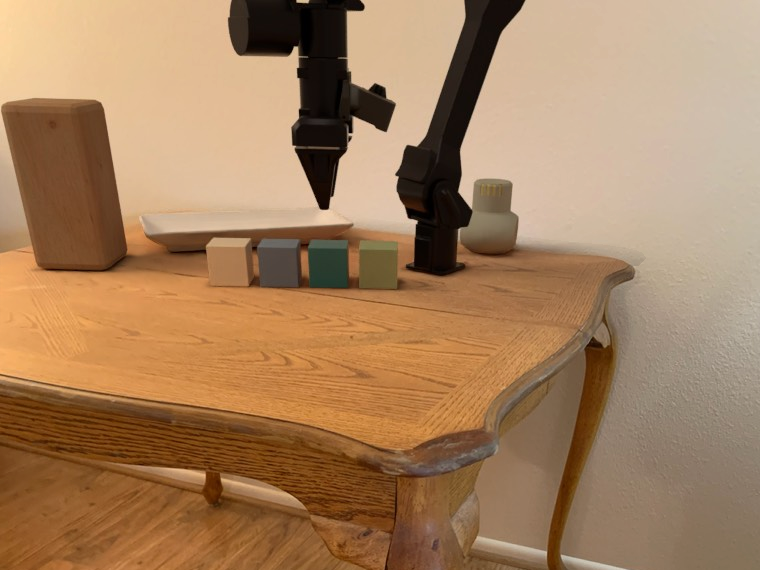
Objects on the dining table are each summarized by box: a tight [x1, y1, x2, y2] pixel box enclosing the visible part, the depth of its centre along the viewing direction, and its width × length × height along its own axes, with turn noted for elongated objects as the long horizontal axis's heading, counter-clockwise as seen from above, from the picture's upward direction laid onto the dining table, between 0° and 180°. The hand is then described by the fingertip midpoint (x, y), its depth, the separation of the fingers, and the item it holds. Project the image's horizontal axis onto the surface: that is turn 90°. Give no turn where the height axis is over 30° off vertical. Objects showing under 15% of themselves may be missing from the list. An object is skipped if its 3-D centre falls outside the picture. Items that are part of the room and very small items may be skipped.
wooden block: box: [0, 97, 128, 271], centre depth 103 cm, size 10×10×20 cm
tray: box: [138, 206, 355, 253], centre depth 122 cm, size 17×31×4 cm, turn 110°
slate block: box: [256, 239, 303, 288], centre depth 101 cm, size 5×5×5 cm
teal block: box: [307, 239, 350, 289], centre depth 101 cm, size 5×5×5 cm
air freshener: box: [459, 178, 519, 255], centre depth 118 cm, size 11×8×10 cm
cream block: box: [205, 238, 255, 287], centre depth 101 cm, size 5×5×5 cm
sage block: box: [358, 240, 399, 290], centre depth 101 cm, size 5×5×5 cm
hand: (327, 203), depth 97 cm, fingers open, 9 cm apart
